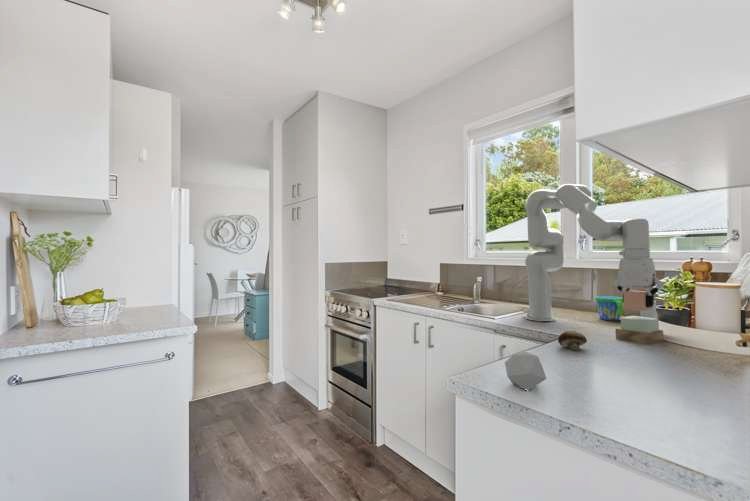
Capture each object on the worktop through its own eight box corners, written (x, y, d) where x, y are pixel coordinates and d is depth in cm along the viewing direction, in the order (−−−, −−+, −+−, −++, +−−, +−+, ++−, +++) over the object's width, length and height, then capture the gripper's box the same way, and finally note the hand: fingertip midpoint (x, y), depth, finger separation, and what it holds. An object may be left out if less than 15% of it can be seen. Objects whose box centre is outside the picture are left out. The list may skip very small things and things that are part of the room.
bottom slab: (615, 340, 124) (615, 328, 124) (630, 336, 129) (630, 325, 129) (648, 346, 115) (648, 334, 115) (663, 342, 120) (662, 330, 120)
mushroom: (584, 343, 105) (578, 324, 109) (557, 350, 110) (552, 331, 113) (593, 352, 110) (586, 333, 114) (567, 358, 114) (561, 339, 118)
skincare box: (655, 335, 127) (654, 302, 127) (640, 333, 130) (639, 301, 131) (658, 332, 131) (657, 300, 132) (643, 331, 135) (642, 299, 135)
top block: (621, 329, 123) (620, 317, 123) (632, 326, 127) (632, 315, 127) (647, 333, 116) (647, 321, 116) (658, 330, 120) (658, 318, 120)
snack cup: (632, 322, 151) (631, 299, 151) (606, 322, 152) (605, 299, 152) (612, 316, 166) (612, 295, 166) (589, 316, 168) (588, 295, 168)
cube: (624, 308, 123) (623, 291, 123) (633, 307, 126) (632, 290, 126) (643, 310, 118) (643, 292, 118) (652, 309, 120) (652, 291, 121)
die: (555, 395, 77) (547, 353, 83) (535, 383, 73) (528, 339, 79) (520, 399, 82) (516, 359, 88) (500, 388, 78) (496, 347, 84)
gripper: (604, 254, 128) (606, 304, 128) (660, 253, 113) (662, 309, 112) (615, 254, 132) (617, 302, 131) (671, 253, 116) (673, 307, 116)
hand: (638, 305), depth 122 cm, fingers closed on cube, 6 cm apart
